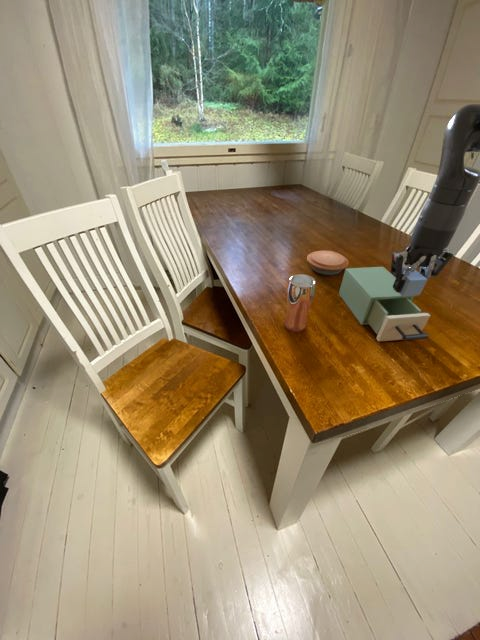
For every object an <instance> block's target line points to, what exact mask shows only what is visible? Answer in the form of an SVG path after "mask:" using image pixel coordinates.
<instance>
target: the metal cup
mask: <svg viewBox="0 0 480 640" xmlns="http://www.w3.org/2000/svg"><path fill="white" fill-rule="evenodd" d="M316 282H317V281H316V279H315V278H314V277H313V276H311V275H308V274H303V273H298V274H297V273H296V274H294V275H292V276H290V278H289V282H288V286H287V291H286V311H287V312H286V317H285V320H284V327H285V328H286V330H288V331H291V332H294V333H299V332H302V331H304V330H305V329H306V325H307V323H306V320H307V319H306V318H307V315H308V313H309V311H310V308H311V306H312V303H313V300H314V297H315V291H316V284H317V283H316Z"/></svg>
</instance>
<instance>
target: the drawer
mask: <svg viewBox="0 0 480 640" xmlns="http://www.w3.org/2000/svg"><path fill="white" fill-rule="evenodd" d="M430 317H431V314H430V313H429V312H422V310H421V308H420V307H418V306H417V305H416V304H415V303H414V302H413V300H412V301H411V300H410V299H409V298H396V299H381V300H373V302H372V305H371V307H370V310H369V313H368V315H367V318H366V321H367V322H368V326H369V327H370V328H371V329H372V330H373V332H374V333H375V334H376V338H375V339H376V340H377V342H388V341H399V340H401V341H406V342H407V341H418V340H419V341H421V340H428V339H429V337H430V336H429V333H427V332H424V331H423V330H424V328H425V326H426V325H427V323H428V321H429V319H430Z"/></svg>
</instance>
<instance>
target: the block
mask: <svg viewBox="0 0 480 640" xmlns="http://www.w3.org/2000/svg"><path fill="white" fill-rule="evenodd" d="M405 271H406V270H405ZM405 271H404V272H403V274H404V273H405ZM419 272H420V271H418V270H417V269H416V270H415V271H414V272H413V273H410V275H409V276H408V277H407V279H406V281H405V284H404V286H403V288H402V290H401V292H398V293H399V294H401V295H402V296H414V297H417V296H421V293H422V292H423V290H424V288H425V285H426V284H427V282H428V279H429V278H428V279H427V278H425V277H424V276H423V275H421V274H420V273H419ZM392 287H393V286H392Z"/></svg>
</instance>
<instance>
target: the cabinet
mask: <svg viewBox="0 0 480 640" xmlns="http://www.w3.org/2000/svg"><path fill="white" fill-rule="evenodd" d="M395 279H396V277H395V276H394V275H392V274H391V273H390V271H389V270H388V269H386V268H385V267H384V266H368V267H349V268H345V270H344V273H343V276H342V281H341V284H340V288H339V291H338V295H339V296H340V298H341V299H342V301H343V302H344V303H345V305H346V306H347V307H348V309H349V310H350V312H351V313H352V315H354V317H355V318H356V320H357V321H358V322H359V324H360V325H361V326H365V325H366V326H367V325H368V326H369V324H368V322H367V321H366V318H367V315H368V313H369V310H370V307H371V305H372V302H373V300H381V299H396V298H409V299H410V300H411V301H412V302H413V299H414V298H415V296H402V295H401V294H399V293H397V292H396V291H395V290H394V289H393V287H392V286H393V284H394V282H395Z"/></svg>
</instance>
